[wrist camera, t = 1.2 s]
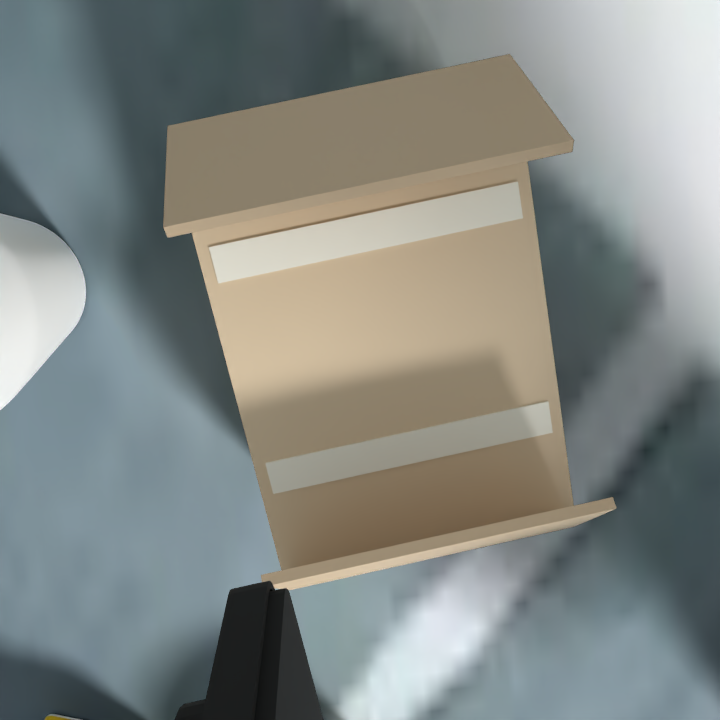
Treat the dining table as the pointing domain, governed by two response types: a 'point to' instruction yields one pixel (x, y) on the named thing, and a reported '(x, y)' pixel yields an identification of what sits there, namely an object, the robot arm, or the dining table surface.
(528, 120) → the near flap
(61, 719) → the medicine bottle
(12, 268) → the cup
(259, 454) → the carton
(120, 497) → the dining table surface
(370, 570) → the far flap
